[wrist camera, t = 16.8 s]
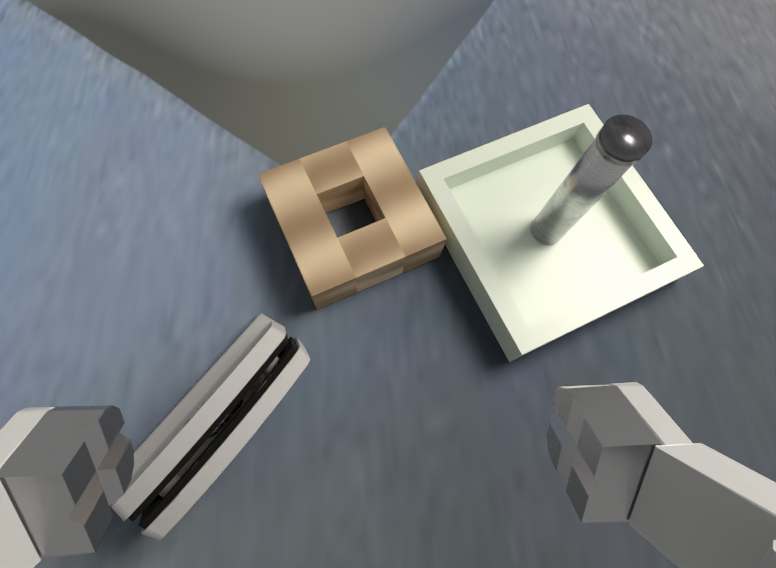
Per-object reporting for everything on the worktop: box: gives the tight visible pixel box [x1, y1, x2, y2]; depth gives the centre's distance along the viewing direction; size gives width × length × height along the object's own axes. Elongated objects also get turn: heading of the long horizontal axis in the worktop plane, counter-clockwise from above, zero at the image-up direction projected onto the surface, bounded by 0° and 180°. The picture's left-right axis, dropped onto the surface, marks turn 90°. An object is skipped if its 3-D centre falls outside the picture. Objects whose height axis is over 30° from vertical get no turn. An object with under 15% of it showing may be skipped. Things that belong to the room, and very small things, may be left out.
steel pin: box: [531, 115, 652, 245], centre depth 37 cm, size 3×3×14 cm
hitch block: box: [258, 127, 447, 310], centre depth 42 cm, size 12×12×4 cm
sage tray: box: [417, 104, 704, 362], centre depth 43 cm, size 18×18×4 cm
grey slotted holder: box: [111, 313, 310, 540], centre depth 34 cm, size 17×5×10 cm, turn 142°
